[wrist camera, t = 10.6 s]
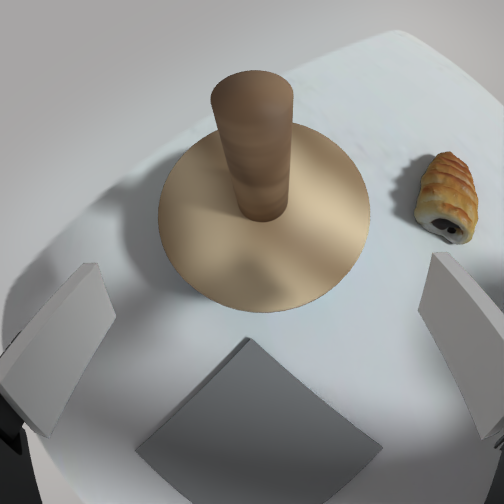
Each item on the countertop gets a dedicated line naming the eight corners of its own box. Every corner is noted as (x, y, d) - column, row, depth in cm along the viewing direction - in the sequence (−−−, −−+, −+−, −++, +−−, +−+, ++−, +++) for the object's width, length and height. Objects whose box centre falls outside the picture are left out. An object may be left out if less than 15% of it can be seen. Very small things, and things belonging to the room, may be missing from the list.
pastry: (421, 150, 26) (435, 127, 22) (472, 177, 25) (489, 159, 21) (407, 225, 24) (425, 206, 20) (465, 254, 22) (487, 240, 19)
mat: (251, 338, 22) (251, 338, 21) (381, 446, 18) (382, 447, 17) (136, 449, 19) (134, 450, 19) (259, 545, 15) (259, 547, 15)
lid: (257, 103, 23) (246, 1, 13) (400, 201, 19) (466, 108, 10) (127, 217, 20) (47, 137, 11) (270, 360, 17) (263, 380, 7)
